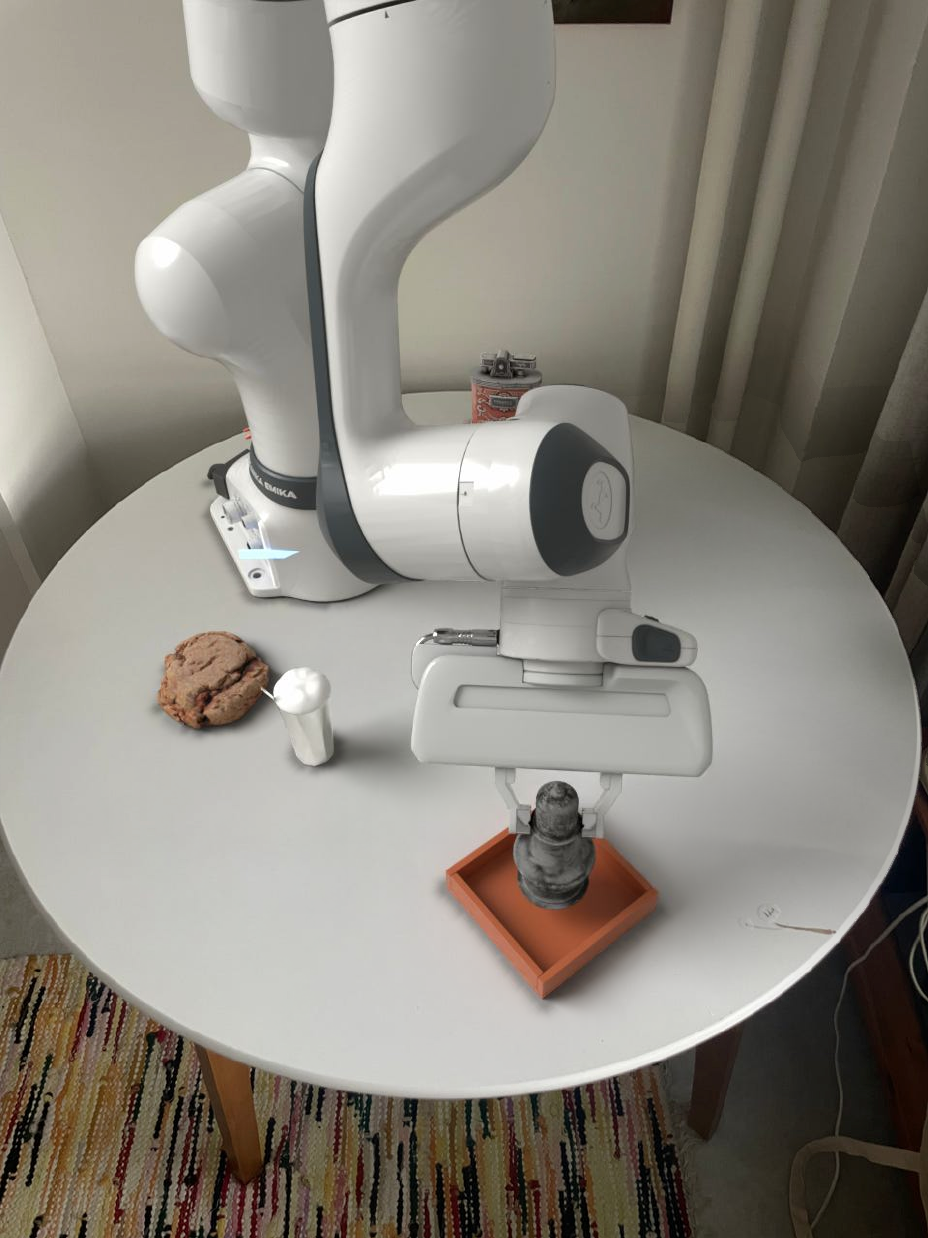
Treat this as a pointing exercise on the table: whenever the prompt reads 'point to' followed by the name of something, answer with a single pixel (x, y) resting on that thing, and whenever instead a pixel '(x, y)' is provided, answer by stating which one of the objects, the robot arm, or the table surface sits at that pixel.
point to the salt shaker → (554, 850)
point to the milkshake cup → (306, 713)
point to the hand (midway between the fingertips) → (556, 834)
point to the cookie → (211, 680)
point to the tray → (549, 937)
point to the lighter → (501, 384)
